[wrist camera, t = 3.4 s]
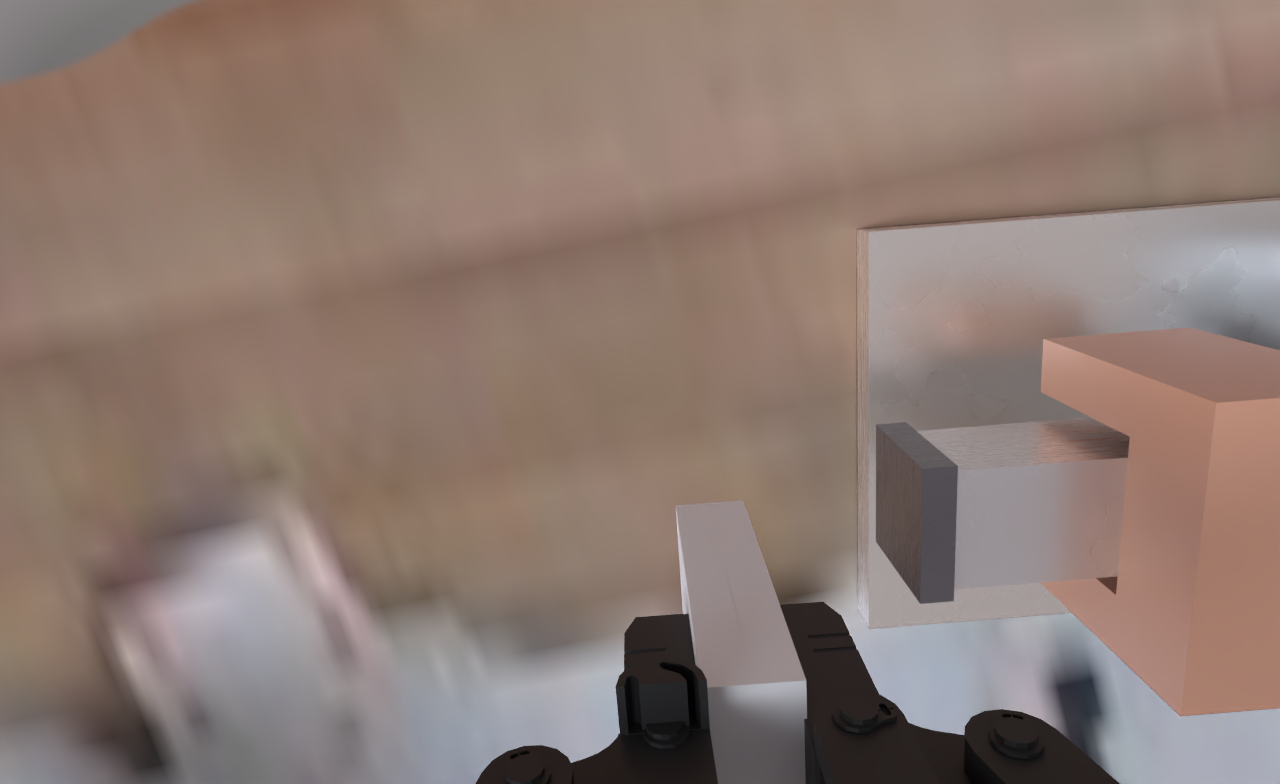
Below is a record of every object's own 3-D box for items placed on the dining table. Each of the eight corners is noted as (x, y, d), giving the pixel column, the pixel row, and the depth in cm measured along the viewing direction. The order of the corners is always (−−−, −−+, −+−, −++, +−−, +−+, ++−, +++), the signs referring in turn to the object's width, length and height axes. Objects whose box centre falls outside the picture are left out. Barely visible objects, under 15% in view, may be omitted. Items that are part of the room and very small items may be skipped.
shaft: (875, 541, 22) (920, 604, 19) (876, 424, 21) (922, 468, 18) (1476, 494, 22) (1624, 548, 19) (1500, 375, 21) (1660, 411, 18)
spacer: (1030, 572, 24) (1180, 716, 17) (1043, 338, 22) (1216, 402, 15) (1165, 562, 24) (1364, 701, 17) (1190, 327, 22) (1421, 386, 15)
